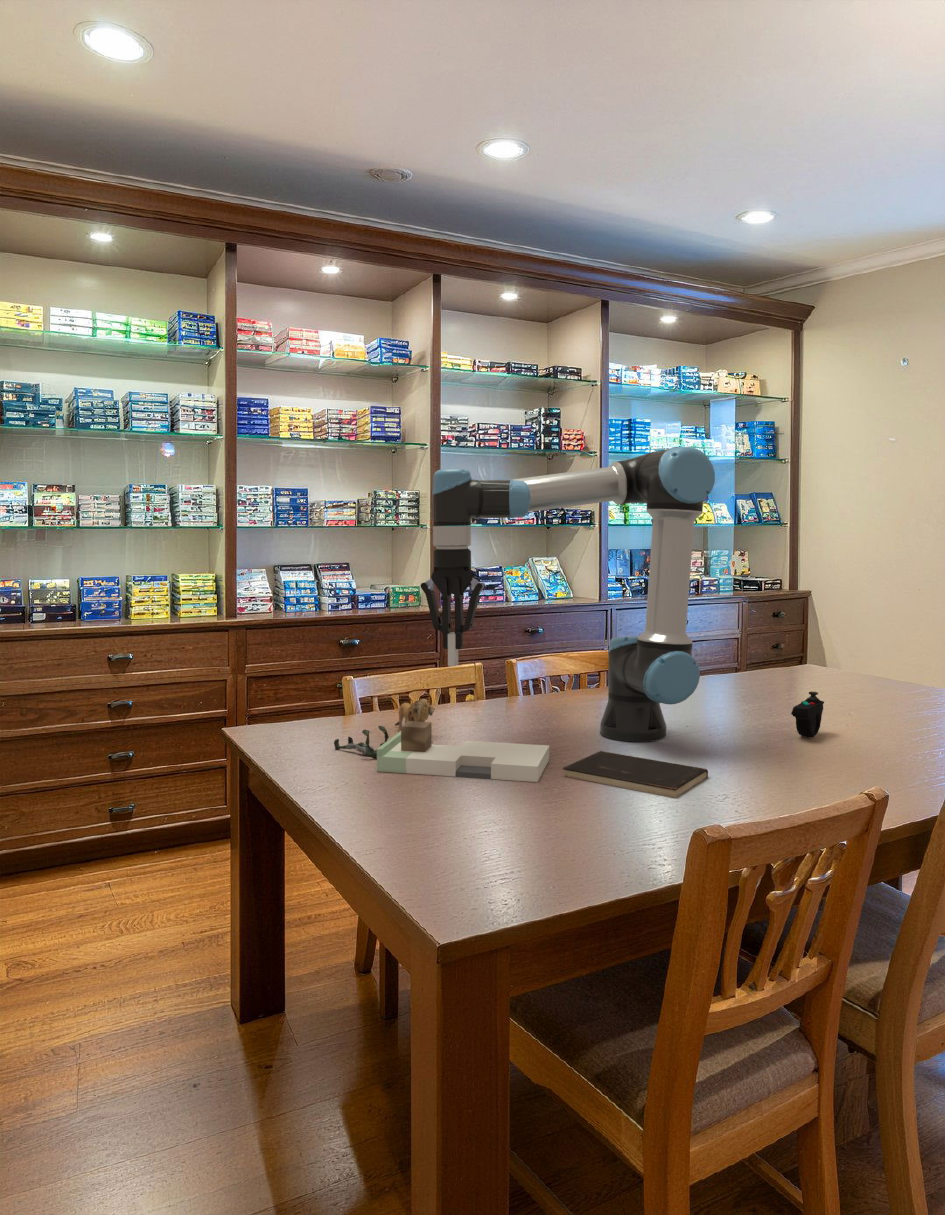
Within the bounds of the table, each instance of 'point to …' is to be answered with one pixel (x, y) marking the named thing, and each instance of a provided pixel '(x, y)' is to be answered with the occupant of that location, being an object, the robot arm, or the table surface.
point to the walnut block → (416, 736)
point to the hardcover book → (636, 773)
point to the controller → (808, 715)
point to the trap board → (467, 760)
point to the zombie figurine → (362, 744)
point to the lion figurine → (414, 712)
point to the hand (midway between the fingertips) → (453, 665)
